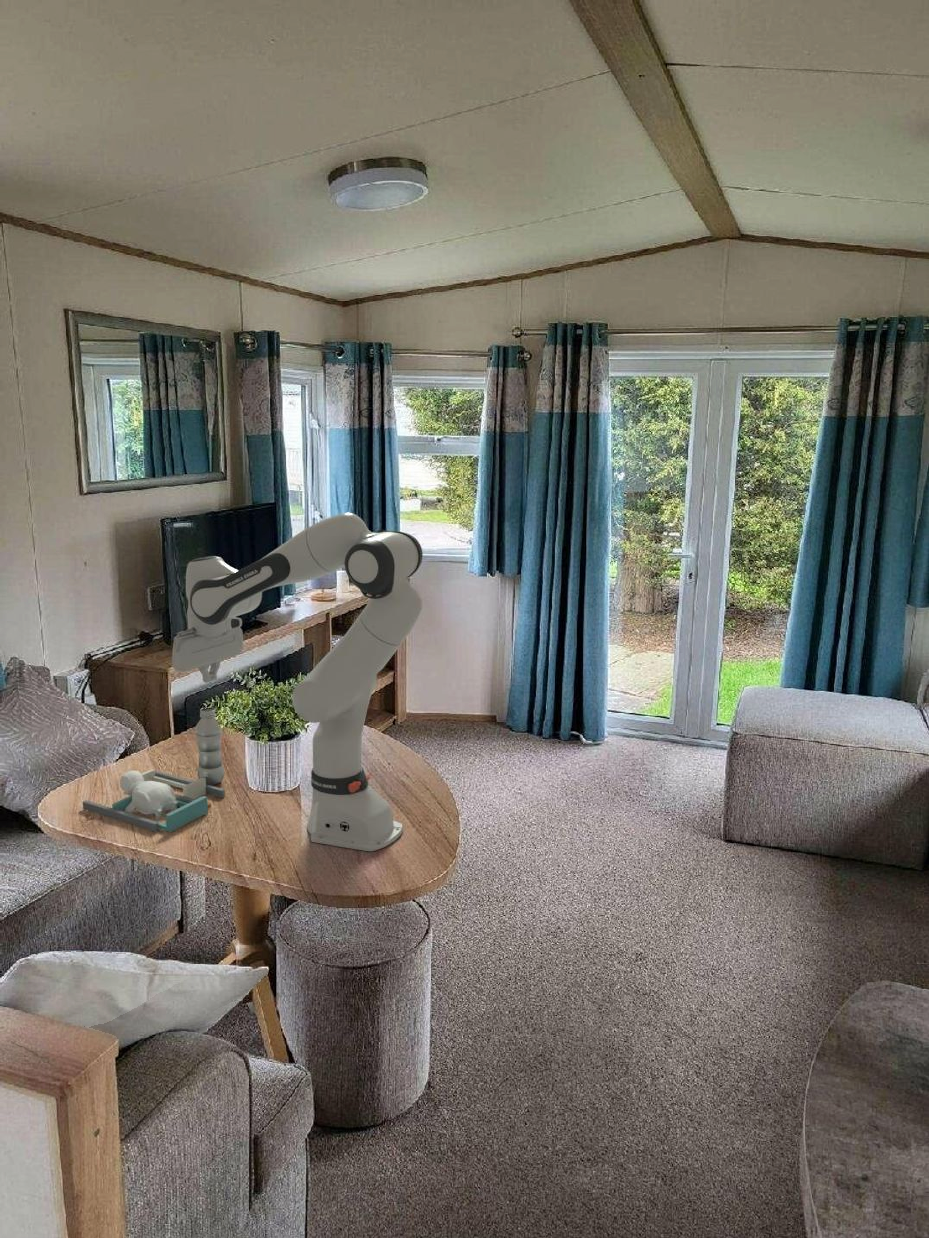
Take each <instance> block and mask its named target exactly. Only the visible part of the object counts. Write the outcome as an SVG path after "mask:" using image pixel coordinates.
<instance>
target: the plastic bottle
mask: <svg viewBox="0 0 929 1238" xmlns="http://www.w3.org/2000/svg"><path fill="white" fill-rule="evenodd" d="M205 708H206V709H205ZM215 712H216V708H215V707H212V706H211V707H209V708H208V706H207V707H202V708H200V711H199V717H200V720H199V721H198V722H197V724H196V726H195V729H194V731H195V737H196V741H197V748H198V768H197V780H198V779H200V778H205V779H206V784H207V785H210V786H214V785H217V784H220V783H221V782H223V780H224V778H225V768H224V765H223V759H222V753H221V750H222V749H221V747H222V746H221V745H222V744H221V742H222V733H223V732H222V731H223V727H222V728H220V727H219V726H218V722H219V721H218V720H217V721H218V722H217V721H216V719H217V718H216V716H215ZM214 716H215V718H216V719H215V718H214Z"/></svg>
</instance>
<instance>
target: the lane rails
mask: <svg viewBox="0 0 929 1238" xmlns="http://www.w3.org/2000/svg"><path fill="white" fill-rule="evenodd" d="M155 776H158V777H162V778H165V779H169V780H173V781H176V782H180V783H183V784H190V783H192V782H194V781H195V780H191V779H188V778H184V777H182V776H181V777H180V776H177V775H173V774H170V773H166V772H163V771H158V770H155ZM225 791H226V790H225V788H220V787H217V786H214V785H207V784H206V794H205V795H210V796H213V797H217V798H220V799H223V798H225V796H226V794H225V793H226V792H225ZM174 795H175V797H176V800H179V801H183V802H186V803H190V802H192V801H194V800H196V799H197V798H196V799H192V798H189V797H185V796H183V794H182V795H181V794H177V793H174ZM82 809H85V810H84V811H86V810H88V811H87V812H89V811H90V813H93V814H96V815H100V816H102V817H106V818H109V819H112V820H115V821H119V822H121V823H124V824H128V825H131V826H134V827H137V828H141V829H144V830H147V831H150V832H154V833H158V832H159V831H160V829H159V823H160V822H159V823H158V821H156V820H152V819H149V818H146V819H145V817H143V816H139V815H136V816H135V814H133V815H132V813H130V814H129V813H126V812H122V811H119V810H116V809H113V808H112V807H109V806H106V805H103V804H99V803H97V802H93V801H90V800H83V801H82ZM142 817H143V818H142ZM148 819H149V820H148ZM155 821H156V822H155Z"/></svg>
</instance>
